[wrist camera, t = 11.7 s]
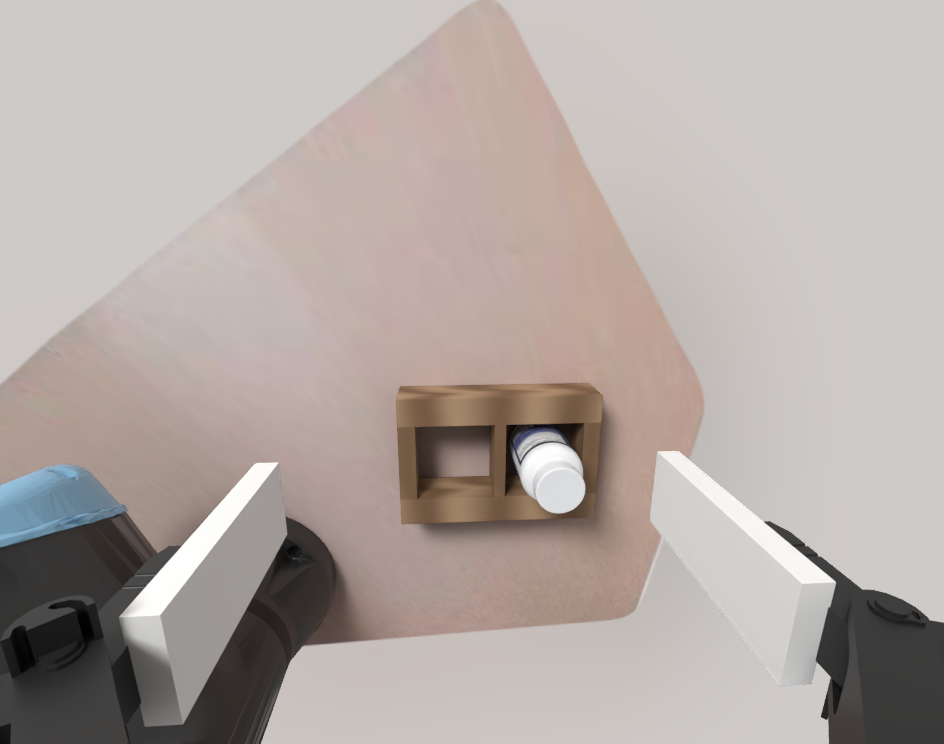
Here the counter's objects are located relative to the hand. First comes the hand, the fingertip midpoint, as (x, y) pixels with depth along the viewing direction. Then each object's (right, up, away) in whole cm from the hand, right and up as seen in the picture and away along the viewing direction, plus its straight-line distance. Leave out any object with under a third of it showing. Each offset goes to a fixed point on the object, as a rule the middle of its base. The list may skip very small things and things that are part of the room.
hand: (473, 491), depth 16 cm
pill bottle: (+6, -3, +29) cm, 30 cm away
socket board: (+2, -3, +29) cm, 29 cm away
